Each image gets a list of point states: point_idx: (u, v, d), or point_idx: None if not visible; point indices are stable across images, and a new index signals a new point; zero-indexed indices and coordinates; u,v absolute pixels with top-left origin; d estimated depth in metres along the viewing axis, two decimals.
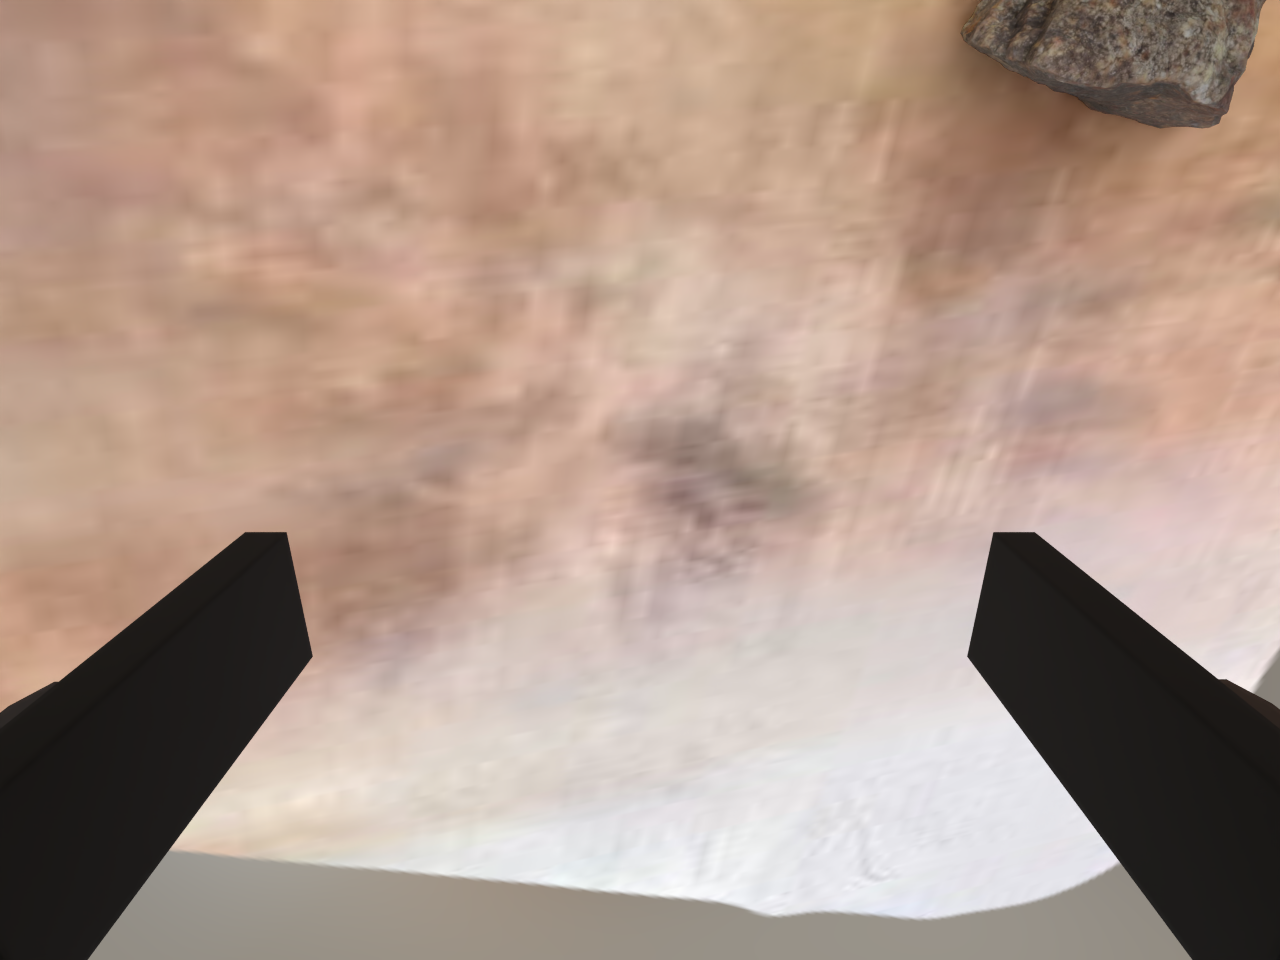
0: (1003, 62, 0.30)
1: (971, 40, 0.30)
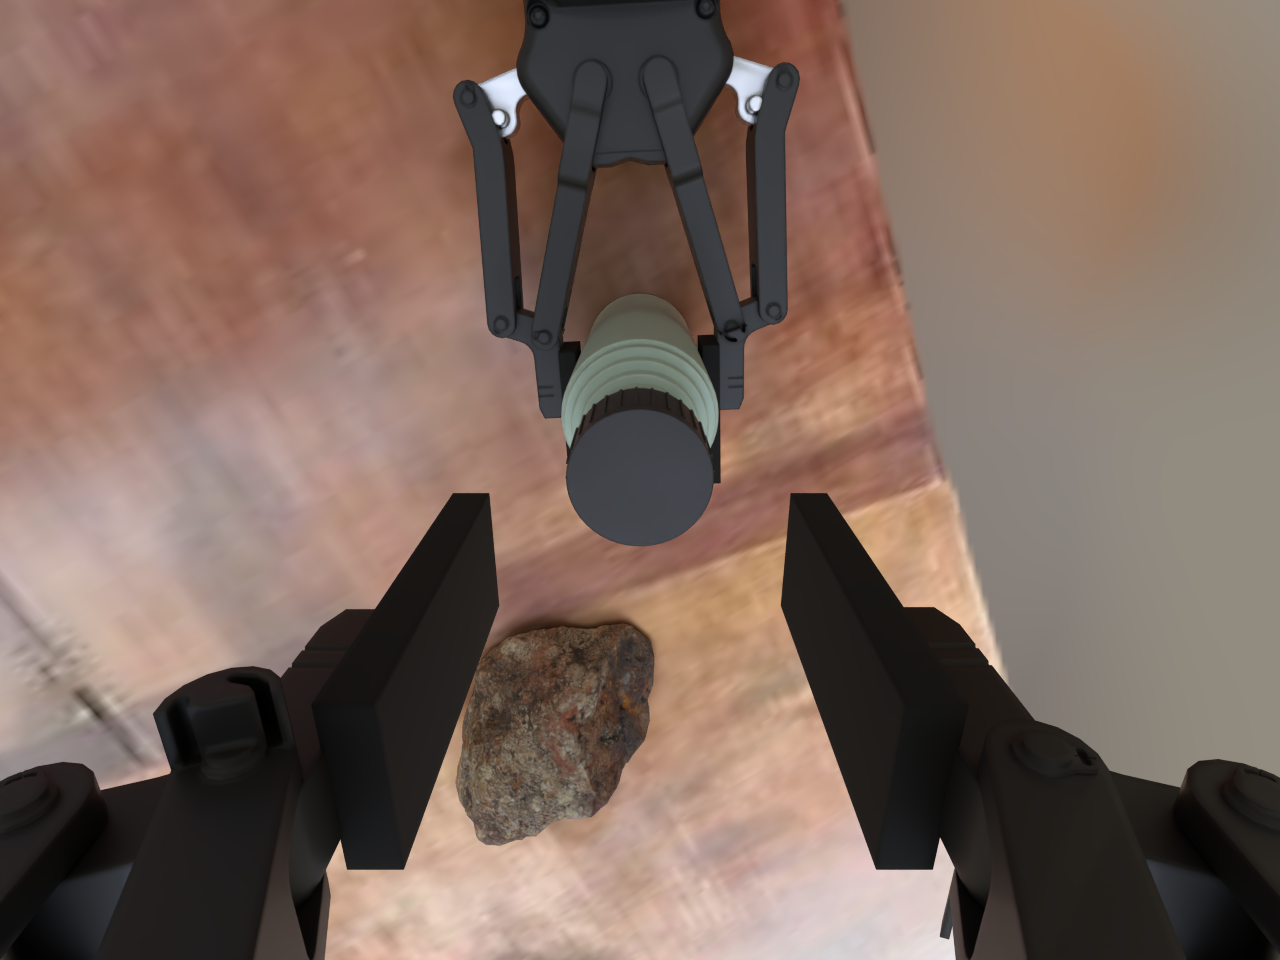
0: None
1: None
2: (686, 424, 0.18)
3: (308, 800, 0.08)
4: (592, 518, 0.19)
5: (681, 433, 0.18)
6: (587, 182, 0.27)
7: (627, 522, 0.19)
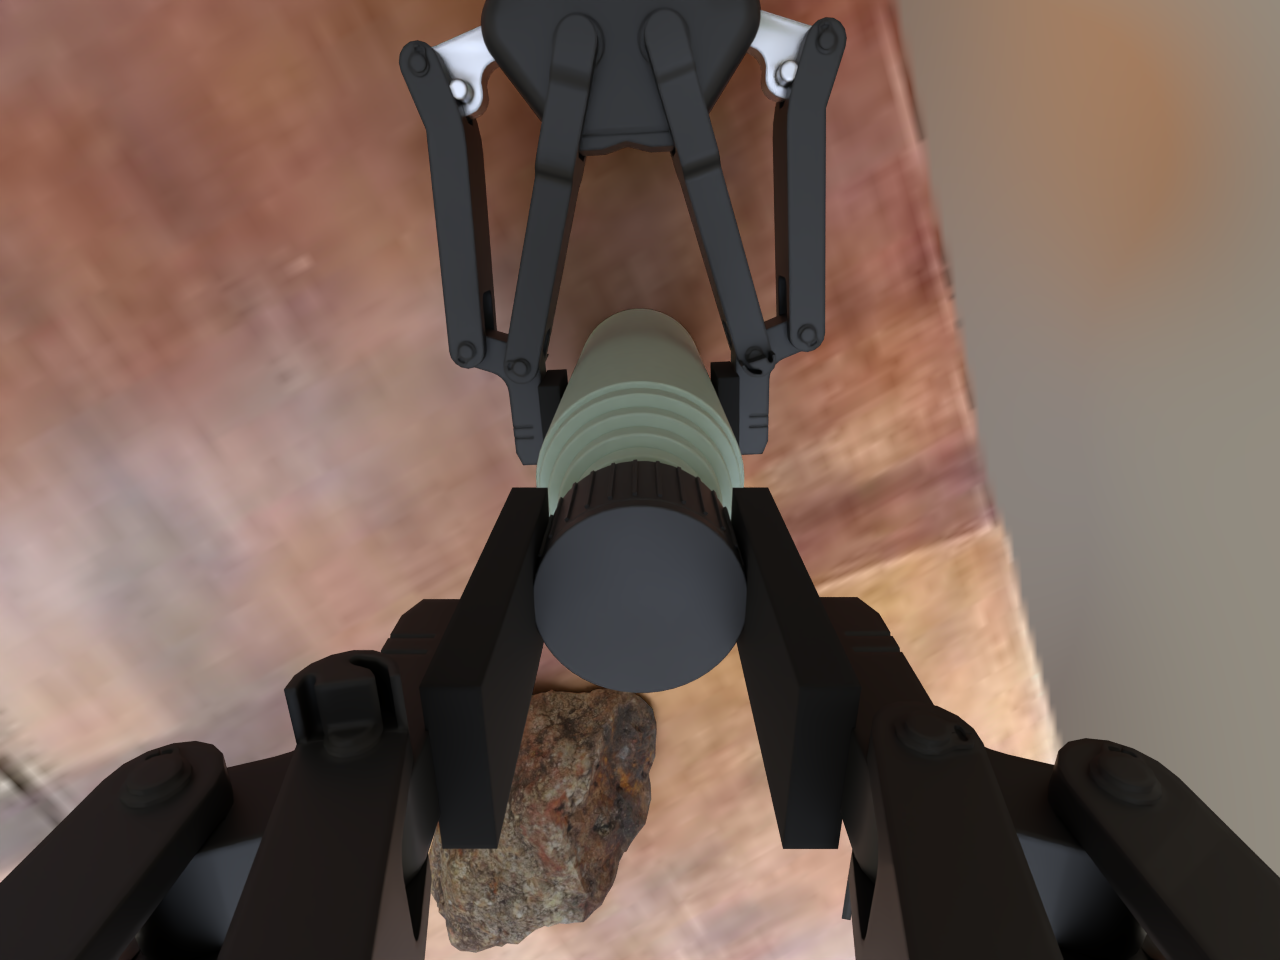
0: None
1: None
2: (709, 527, 0.12)
3: (417, 784, 0.08)
4: (571, 656, 0.13)
5: (701, 540, 0.12)
6: (572, 173, 0.21)
7: (622, 661, 0.13)
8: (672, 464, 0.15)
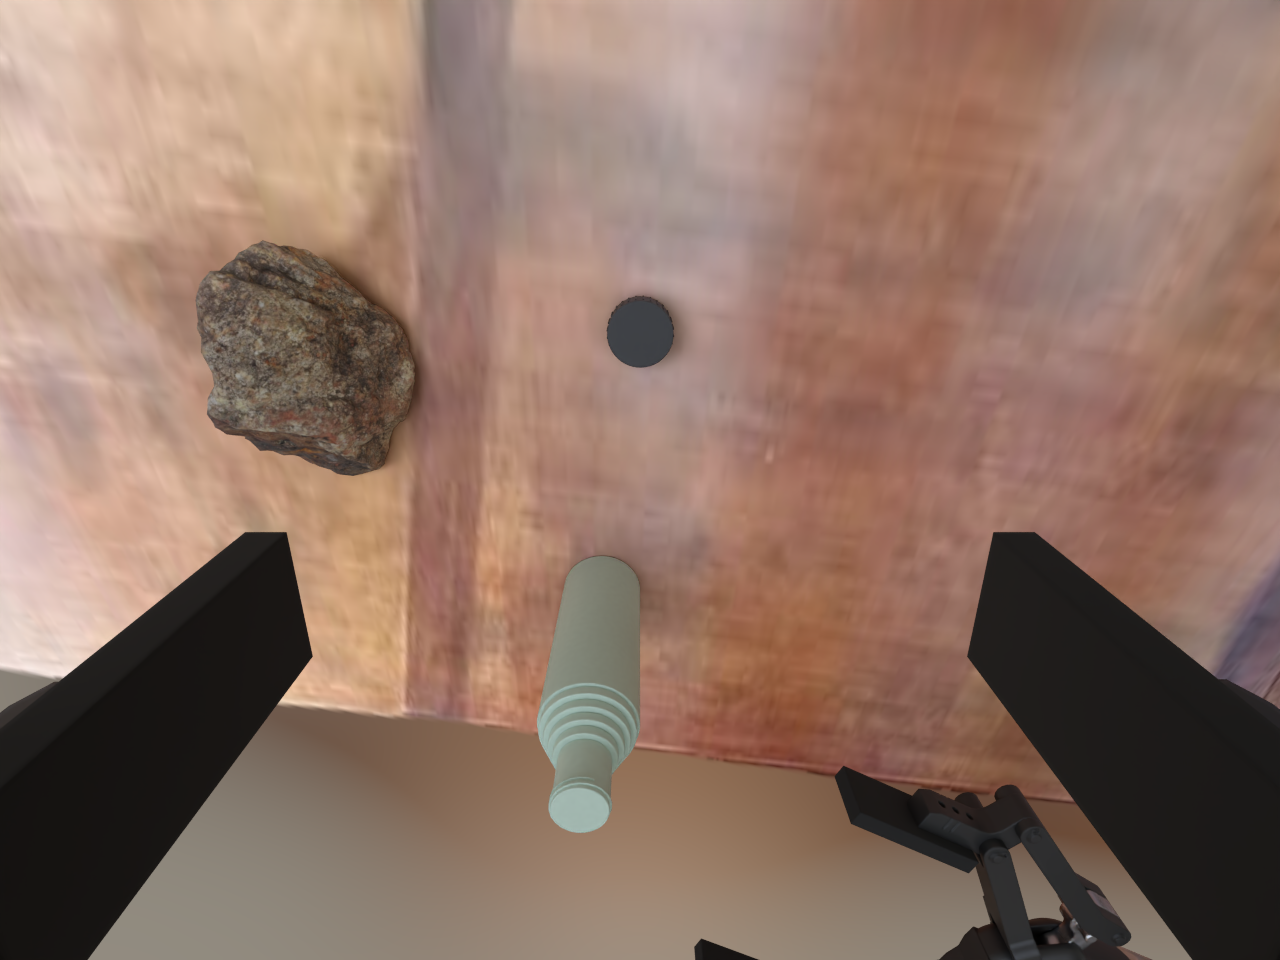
0: None
1: (263, 241, 0.38)
2: (658, 306, 0.40)
3: None
4: (620, 355, 0.41)
5: (656, 310, 0.40)
6: (1014, 956, 0.33)
7: (636, 355, 0.41)
8: None
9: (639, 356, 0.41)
